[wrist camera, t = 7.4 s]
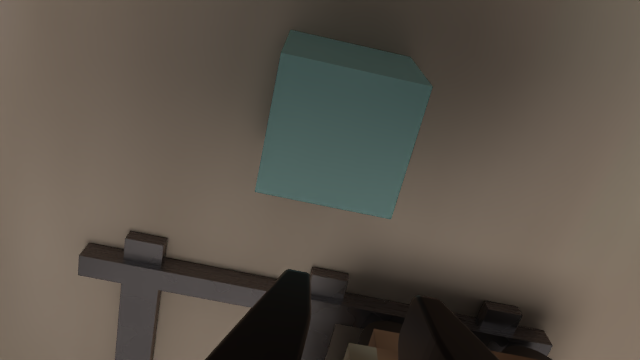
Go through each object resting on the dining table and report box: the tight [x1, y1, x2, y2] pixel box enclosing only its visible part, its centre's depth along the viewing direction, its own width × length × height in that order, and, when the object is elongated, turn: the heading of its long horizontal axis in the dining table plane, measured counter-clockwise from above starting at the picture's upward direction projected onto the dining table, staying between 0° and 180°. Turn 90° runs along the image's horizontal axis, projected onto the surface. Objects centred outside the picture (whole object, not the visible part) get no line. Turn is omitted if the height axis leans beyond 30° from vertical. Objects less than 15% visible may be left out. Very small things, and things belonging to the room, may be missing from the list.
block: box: [255, 30, 433, 219], centre depth 18 cm, size 4×4×4 cm
